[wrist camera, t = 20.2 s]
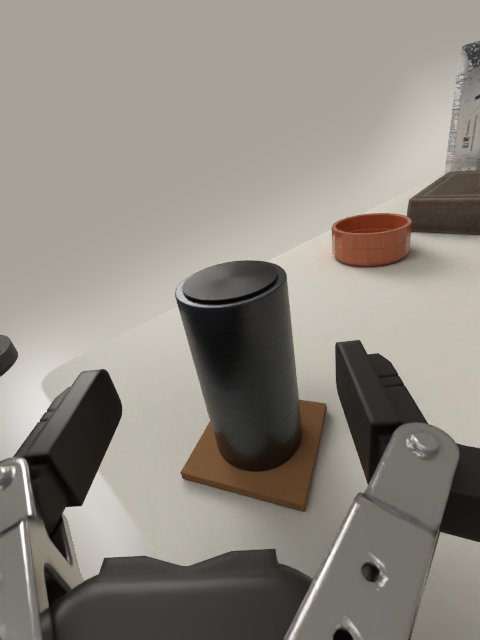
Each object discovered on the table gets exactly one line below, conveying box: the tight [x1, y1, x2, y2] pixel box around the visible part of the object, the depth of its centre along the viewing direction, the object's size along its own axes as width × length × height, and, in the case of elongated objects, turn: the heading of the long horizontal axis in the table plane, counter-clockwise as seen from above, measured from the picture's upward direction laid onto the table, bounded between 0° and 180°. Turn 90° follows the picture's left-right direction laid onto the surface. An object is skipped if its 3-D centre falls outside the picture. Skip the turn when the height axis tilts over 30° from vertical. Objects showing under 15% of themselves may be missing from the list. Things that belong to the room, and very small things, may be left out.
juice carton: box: [446, 41, 480, 173], centre depth 71 cm, size 9×10×27 cm
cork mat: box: [181, 400, 327, 511], centre depth 22 cm, size 8×8×1 cm
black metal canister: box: [175, 261, 302, 472], centre depth 19 cm, size 6×6×11 cm
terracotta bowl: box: [332, 213, 412, 266], centre depth 47 cm, size 10×10×4 cm
